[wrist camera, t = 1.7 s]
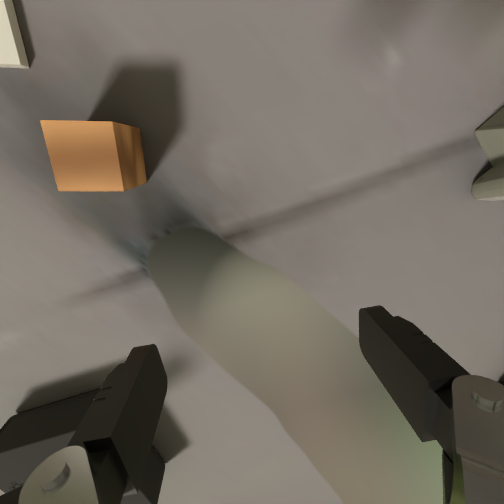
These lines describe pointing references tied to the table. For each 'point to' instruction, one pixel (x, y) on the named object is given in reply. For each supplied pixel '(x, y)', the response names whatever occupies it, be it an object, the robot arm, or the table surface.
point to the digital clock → (491, 159)
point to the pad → (11, 38)
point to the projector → (59, 446)
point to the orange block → (94, 155)
